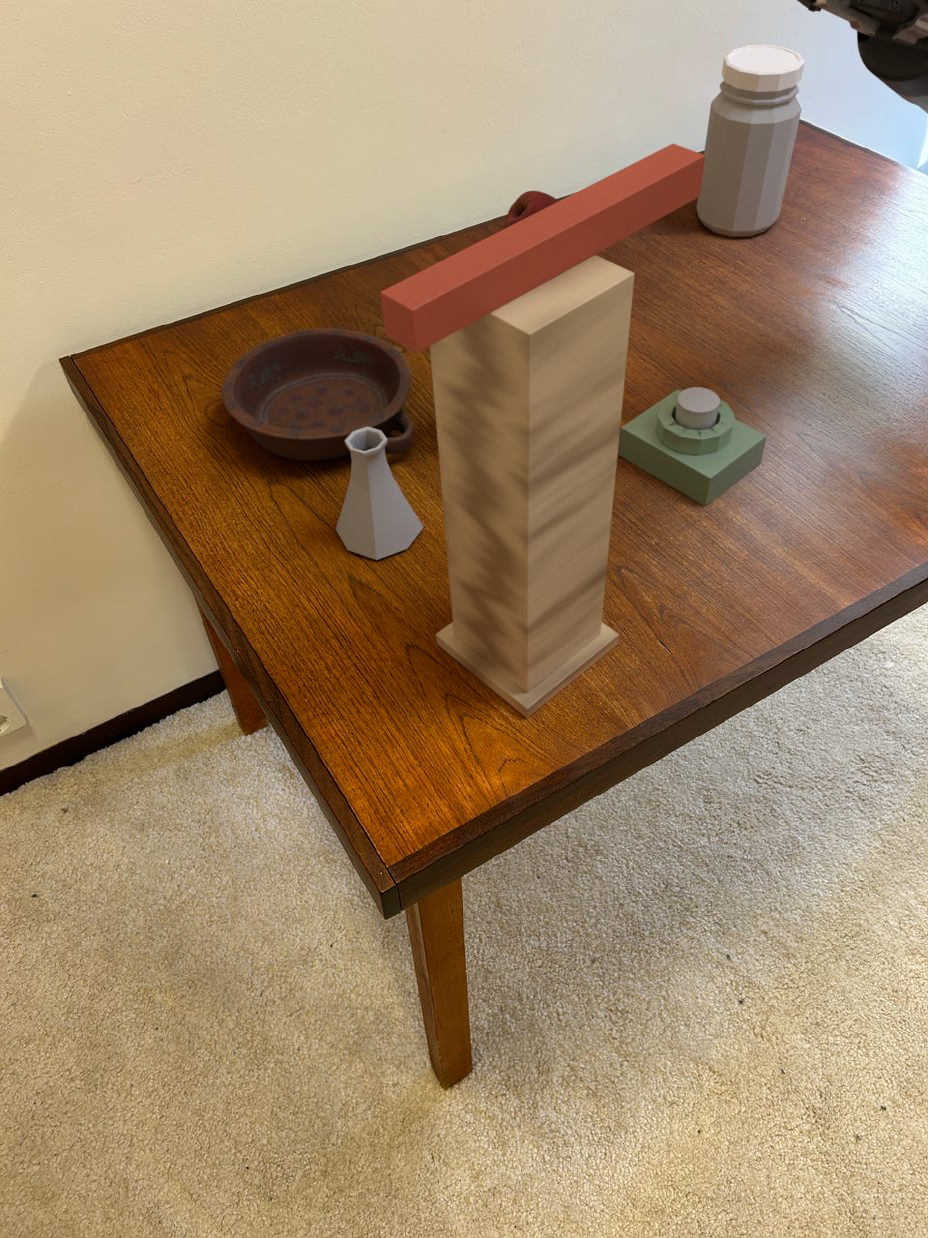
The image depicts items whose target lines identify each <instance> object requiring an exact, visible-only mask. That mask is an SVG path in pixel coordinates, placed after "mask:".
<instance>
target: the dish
mask: <svg viewBox="0 0 928 1238" xmlns="http://www.w3.org/2000/svg"><path fill="white" fill-rule="evenodd" d="M411 387H412V374H411V369H410V366H409V364H408V361H407V358H405V356H404V355H403V354H402V353H401V351H400V350H399V349H397V348H396V347H394V346H393V345H392V344H391V343H389V342H387V341H385V340H383V339H381V338H379V337H377V336H374V335H371V334H368V333H365V332H359V331H356V330H349V329H343V328H342V329H341V328H311V329H304V330H297V331H293V332H290V333H287V334H284V335H281V336H277V337H275V338H272V339H270V340H268V341H265V342H263V343H261V344H257V345H256V346H254V347H252V348H250V349H248V350H247V351H246V352H245V353H244V354H242V356H240V358H238V359H237V360H236V361H235V363H234V364H233V365H232V366H231V367H230V369H229V370H228V371H227V374H226V375H225V378H224V380H223V385H222V387H221V399H222V403H223V406H224V408H226V409H225V410H226V411H227V413H228V415H230V416H231V417H232V419H234V420H235V421H236V422H237V423H238V424H240V425H242V427H243V428H244V430H246V432H247V433H248V434H249V435H250V437H251V438H252V439H253V440H254V441H255V442H256V443H258V444H259V445H260V447H262V448H264V449H265V450H266V451H268V452H271V453H272V454H274V455H276V456H278V457H282V458H285V459H288V460H289V459H290V460H295V461H320V460H322V461H323V460H332V459H336V458H340V457H344V456H348V455H351V452H350V450H349V449H348V447H347V446H346V444H345V440H346V438H347V437H348V436H349V435H350V434H351V433H352V432H353V431H355V430H358V429H361V428H364V427H371V428H374V429H378V430H381V431H382V433H383V434H384V435H385V437H386V436H387V435H388V434H389V433H391V432H394V431H395V432H399V433H401V434H400V435H399V436H394V437H393V436H392V437H389V436H388V437H386V438H387V441H388V442H387V445H386V446H385V454H386V455H396V454H401V453H403V452H405V451H407V450H408V449H410V447H411V446H412V444H413V438H414V430H415V429H414V424H413V422H412V420H411V418H410V417H409V416H408V414H406V413H405V412H404V409H403V407H404V405H405V404H406V401H407V400H408V398H409V396H410V393H411V389H412V388H411Z"/></svg>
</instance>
